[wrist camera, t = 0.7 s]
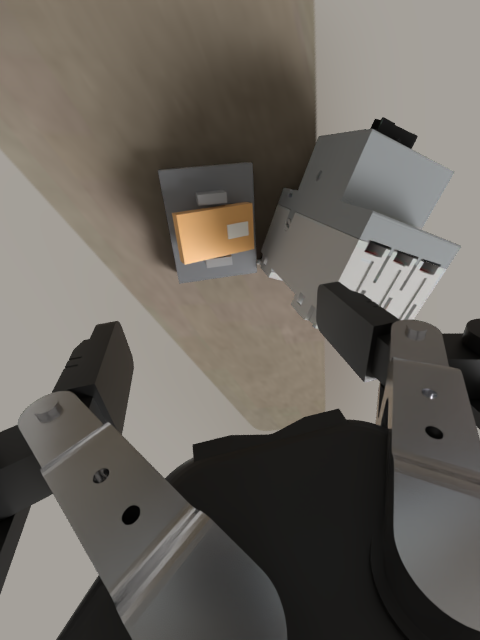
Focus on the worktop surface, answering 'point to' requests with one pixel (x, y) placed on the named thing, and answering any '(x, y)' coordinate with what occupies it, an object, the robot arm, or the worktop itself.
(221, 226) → the block
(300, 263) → the electrical contactor
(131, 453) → the robot arm
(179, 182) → the switch box
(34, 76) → the worktop surface
